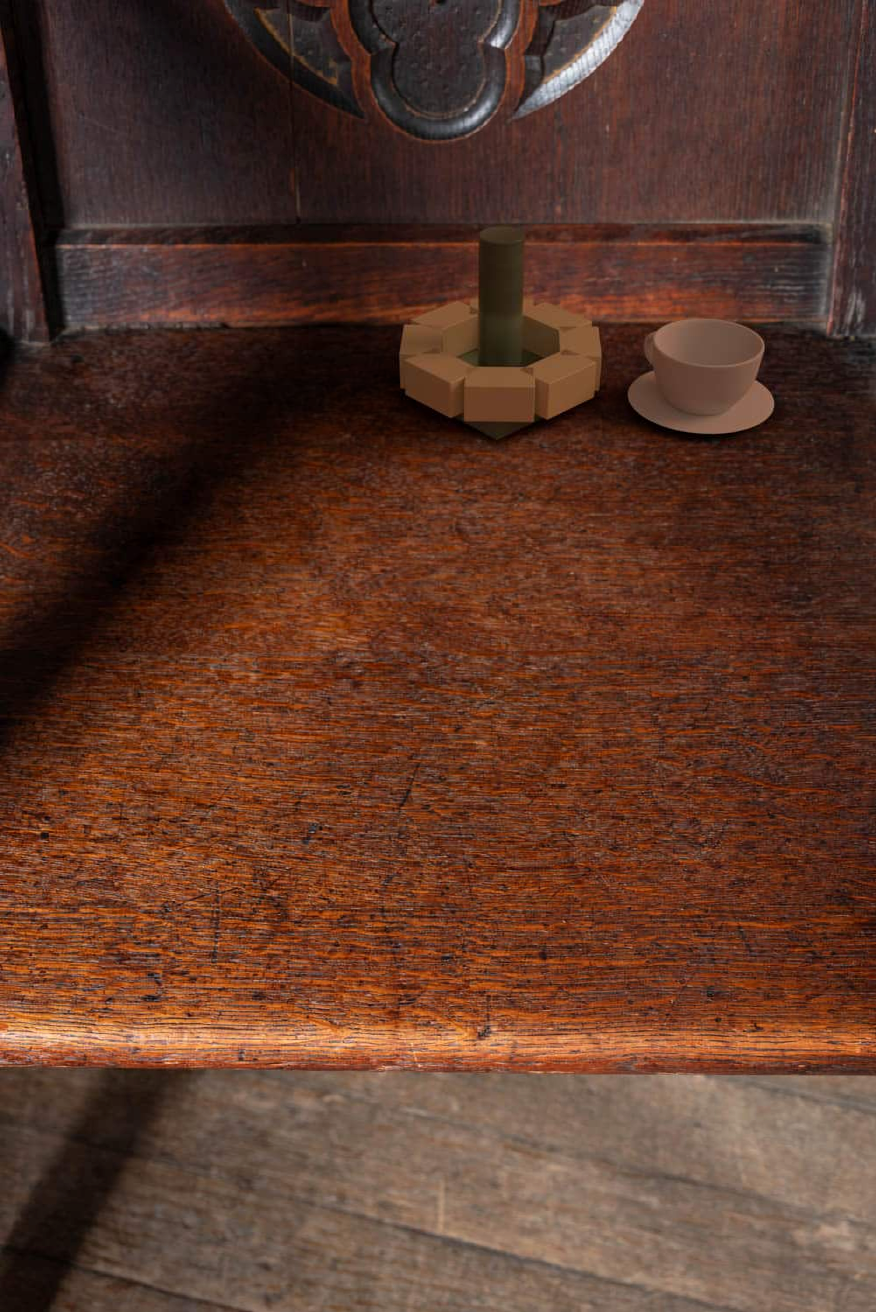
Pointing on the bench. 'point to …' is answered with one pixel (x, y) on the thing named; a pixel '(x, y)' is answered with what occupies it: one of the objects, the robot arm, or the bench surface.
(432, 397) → the ring of blocks
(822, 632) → the bench surface
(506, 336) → the stand
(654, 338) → the teacup
